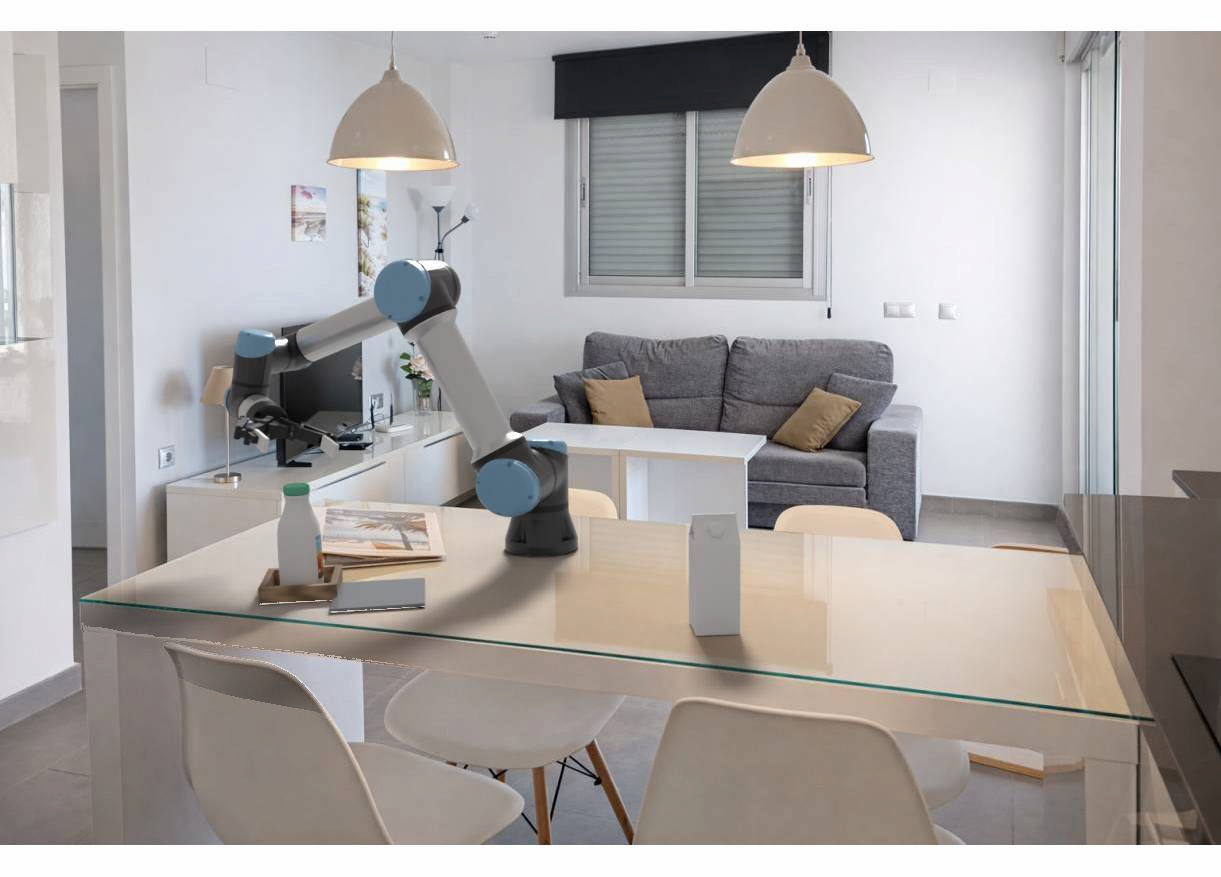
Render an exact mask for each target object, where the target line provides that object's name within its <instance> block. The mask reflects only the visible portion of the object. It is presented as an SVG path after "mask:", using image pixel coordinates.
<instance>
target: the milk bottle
mask: <svg viewBox="0 0 1221 877" xmlns="http://www.w3.org/2000/svg"><path fill="white" fill-rule="evenodd" d="M310 491H311V490H310V484H308V483H307V482H292V483H286V484H284V485H283V486H282V493H283V498H284V507H283V511H282V513H281V516H280V518H279V521H278V525H277V529H276V530H277V531H276V532H277V534H276V536H277V539H276V540H277V557H278V558H277V560H278V568H279V578H280V585H279V586H286V585H303V584H320V583H324V574H323V565H324V561H323V560H324V558H323V546H322V534H321V533H322V532H321V531H322V530H321V526H320V522H319V520H318V517H317V516H316V514H315V512H314V510H313V508H312V506H311V503H310V497H311V494H310V493H311V492H310Z"/></svg>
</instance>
